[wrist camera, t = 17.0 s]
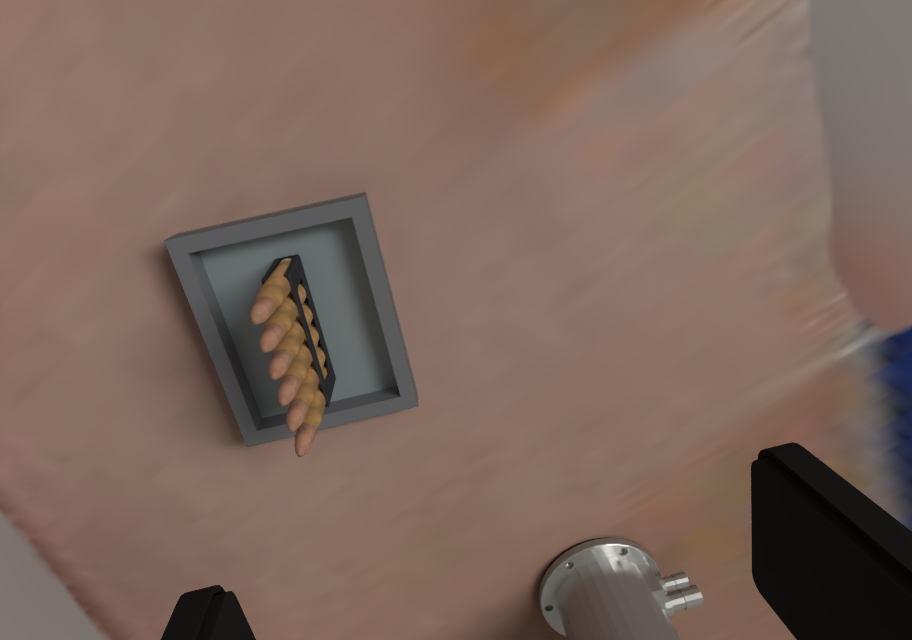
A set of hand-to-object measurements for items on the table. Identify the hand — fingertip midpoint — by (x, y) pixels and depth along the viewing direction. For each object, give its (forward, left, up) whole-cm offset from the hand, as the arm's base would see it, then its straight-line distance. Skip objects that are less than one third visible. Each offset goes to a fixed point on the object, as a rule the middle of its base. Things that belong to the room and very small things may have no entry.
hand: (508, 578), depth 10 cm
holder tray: (+10, +5, -34) cm, 36 cm away
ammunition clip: (+10, +5, -34) cm, 36 cm away
